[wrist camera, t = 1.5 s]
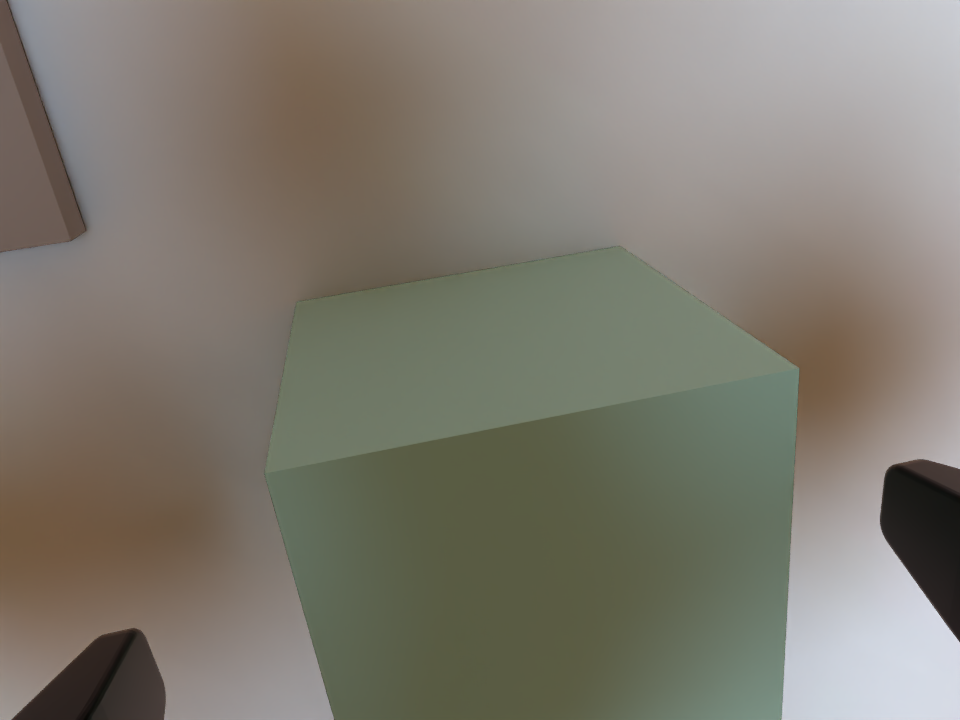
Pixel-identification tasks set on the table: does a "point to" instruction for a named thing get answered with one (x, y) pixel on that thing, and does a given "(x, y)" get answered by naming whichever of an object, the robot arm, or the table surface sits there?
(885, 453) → the table surface
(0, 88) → the mat
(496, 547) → the green cube
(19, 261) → the table surface
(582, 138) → the table surface
